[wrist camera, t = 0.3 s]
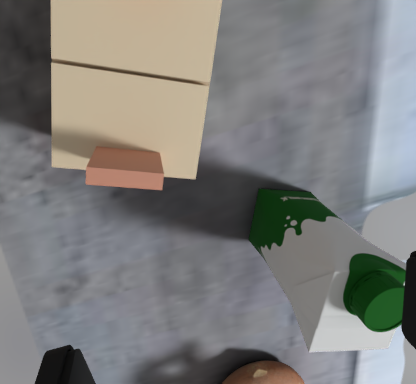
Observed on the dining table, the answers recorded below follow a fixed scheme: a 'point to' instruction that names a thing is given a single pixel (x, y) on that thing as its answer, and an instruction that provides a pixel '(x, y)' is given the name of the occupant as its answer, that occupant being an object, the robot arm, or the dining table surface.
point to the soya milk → (328, 273)
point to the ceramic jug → (264, 374)
